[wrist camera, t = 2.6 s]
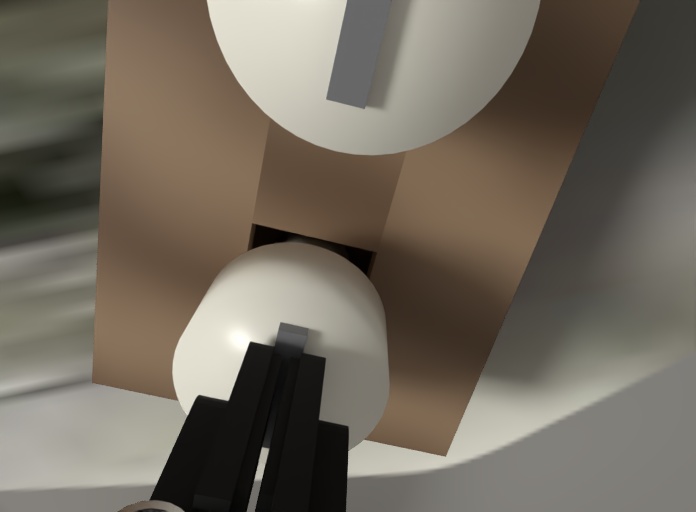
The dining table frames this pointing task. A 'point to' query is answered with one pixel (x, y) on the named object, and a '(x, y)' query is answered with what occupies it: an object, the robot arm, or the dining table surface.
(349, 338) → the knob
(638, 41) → the dining table surface
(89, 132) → the dining table surface
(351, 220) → the knob mount
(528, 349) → the dining table surface
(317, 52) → the knob middle
